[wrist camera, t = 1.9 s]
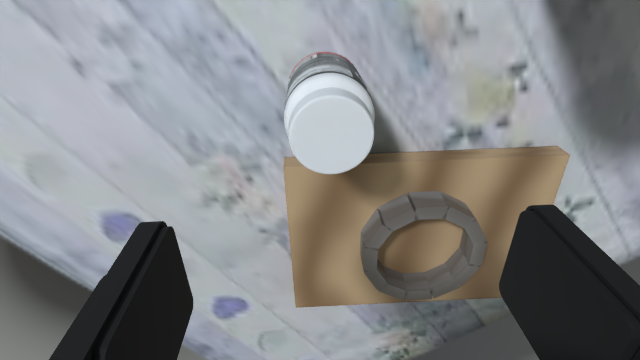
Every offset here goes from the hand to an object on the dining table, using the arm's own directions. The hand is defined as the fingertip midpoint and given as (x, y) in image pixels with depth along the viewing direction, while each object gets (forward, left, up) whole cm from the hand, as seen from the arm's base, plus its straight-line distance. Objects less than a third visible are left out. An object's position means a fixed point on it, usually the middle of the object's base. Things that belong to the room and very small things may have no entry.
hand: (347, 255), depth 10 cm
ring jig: (-7, +12, -16) cm, 21 cm away
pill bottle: (0, 0, -17) cm, 17 cm away
